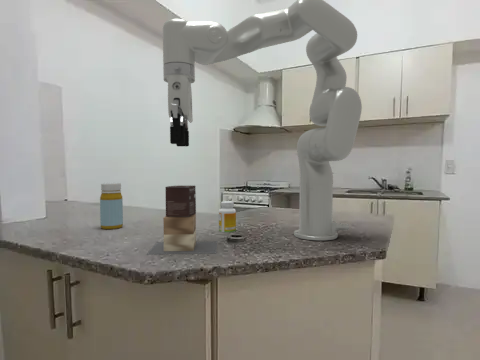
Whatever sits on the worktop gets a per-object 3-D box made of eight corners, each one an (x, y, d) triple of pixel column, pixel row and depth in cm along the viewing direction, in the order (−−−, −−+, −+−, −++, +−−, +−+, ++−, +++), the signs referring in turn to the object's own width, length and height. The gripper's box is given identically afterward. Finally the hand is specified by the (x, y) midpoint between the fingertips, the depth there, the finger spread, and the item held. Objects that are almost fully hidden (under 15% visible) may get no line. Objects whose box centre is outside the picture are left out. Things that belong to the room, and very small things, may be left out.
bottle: (101, 226, 111) (101, 183, 110) (123, 225, 113) (122, 182, 112) (99, 230, 104) (98, 184, 103) (122, 229, 106) (121, 183, 105)
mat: (217, 243, 86) (217, 241, 86) (216, 255, 74) (216, 253, 74) (157, 244, 86) (157, 241, 86) (146, 256, 74) (146, 254, 74)
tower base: (195, 243, 84) (195, 228, 83) (193, 250, 77) (193, 234, 76) (168, 244, 83) (168, 228, 83) (163, 251, 76) (163, 234, 76)
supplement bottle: (239, 231, 102) (239, 201, 101) (230, 235, 97) (230, 203, 96) (225, 230, 104) (224, 200, 104) (215, 233, 100) (215, 202, 99)
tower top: (195, 228, 83) (195, 213, 83) (193, 234, 76) (193, 217, 76) (168, 228, 83) (168, 213, 83) (163, 234, 76) (163, 217, 76)
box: (189, 217, 76) (188, 186, 76) (165, 217, 77) (164, 186, 77) (196, 213, 82) (196, 185, 82) (173, 213, 83) (173, 185, 83)
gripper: (191, 63, 70) (192, 142, 70) (197, 83, 87) (198, 147, 88) (156, 63, 69) (157, 142, 70) (169, 83, 86) (170, 147, 87)
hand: (180, 145), depth 79 cm, fingers open, 9 cm apart
